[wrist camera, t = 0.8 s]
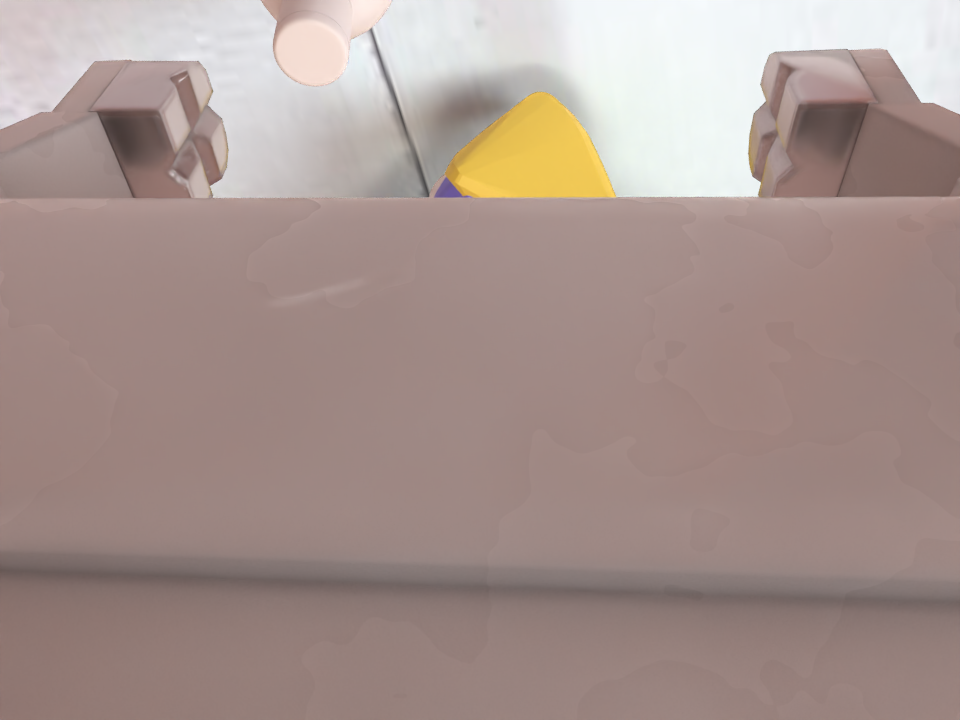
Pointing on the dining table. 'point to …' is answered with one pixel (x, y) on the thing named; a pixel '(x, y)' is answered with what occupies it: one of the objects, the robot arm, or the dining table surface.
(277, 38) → the bath foam
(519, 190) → the colorful pinata
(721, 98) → the dining table surface
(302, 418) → the robot arm
